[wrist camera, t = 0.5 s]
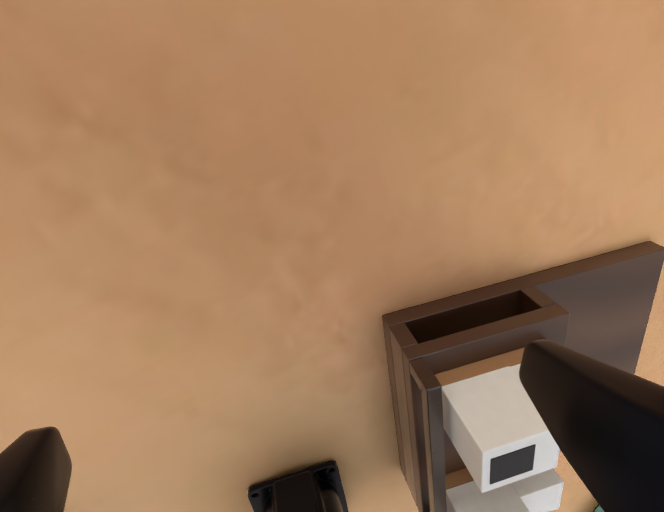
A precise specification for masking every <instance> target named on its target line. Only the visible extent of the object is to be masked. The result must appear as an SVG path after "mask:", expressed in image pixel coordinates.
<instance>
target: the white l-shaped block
mask: <svg viewBox="0 0 664 512" xmlns="http://www.w3.org/2000/svg"><path fill="white" fill-rule="evenodd" d="M563 484H564V481H563V480H562V479H561V477H560V476H559V475H558V474H557V472H556V471H555V470H554V469H550V470H547V471H544V472H541V473H538V474H535V475H533V476H530V477H527V478H524V479H521V480H518V481H515V482H512V483H510V484H507V485H504V486H501V487H498V488H495V489H492V490H489V491H487V492H484V493H481V491H480V490H479V488H478V486H477V484H476V483H475V481H474V479H473V478H472V476H471V474H470V472H469V471H468V469H467V468H464V469H461V470H458V471H455V472H452V473H449V474H446V498H447V512H550V511H553V510H555V509H558V508H559V507H560V501H561V495H562V490H563Z"/></svg>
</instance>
